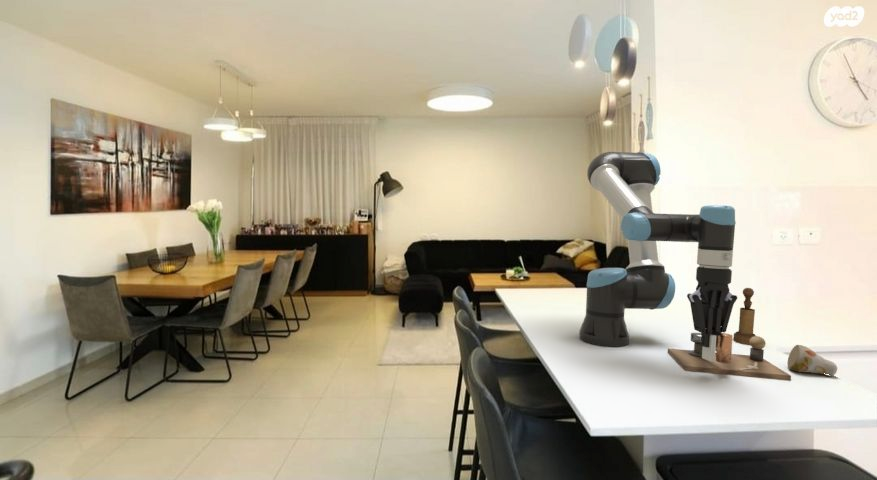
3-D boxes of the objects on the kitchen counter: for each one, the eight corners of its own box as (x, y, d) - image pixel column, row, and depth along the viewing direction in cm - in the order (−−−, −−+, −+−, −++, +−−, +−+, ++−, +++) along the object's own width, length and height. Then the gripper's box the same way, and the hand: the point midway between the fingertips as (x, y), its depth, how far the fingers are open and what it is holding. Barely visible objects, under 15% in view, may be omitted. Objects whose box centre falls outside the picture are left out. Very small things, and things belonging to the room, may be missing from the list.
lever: (687, 344, 127) (688, 320, 126) (703, 345, 126) (704, 321, 126) (717, 363, 110) (719, 335, 110) (736, 364, 109) (737, 336, 109)
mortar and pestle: (761, 345, 140) (765, 290, 139) (739, 344, 141) (742, 289, 140) (751, 340, 146) (754, 287, 145) (729, 338, 148) (732, 286, 147)
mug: (845, 382, 109) (825, 347, 109) (798, 390, 115) (780, 356, 115) (838, 367, 115) (820, 334, 115) (794, 375, 121) (777, 343, 121)
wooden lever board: (685, 370, 114) (686, 341, 114) (667, 352, 130) (669, 326, 129) (790, 380, 109) (792, 349, 108) (759, 360, 124) (760, 333, 124)
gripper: (703, 267, 104) (697, 364, 105) (748, 269, 107) (742, 363, 108) (680, 264, 112) (675, 355, 113) (723, 266, 114) (717, 354, 115)
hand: (708, 359), depth 110 cm, fingers closed
